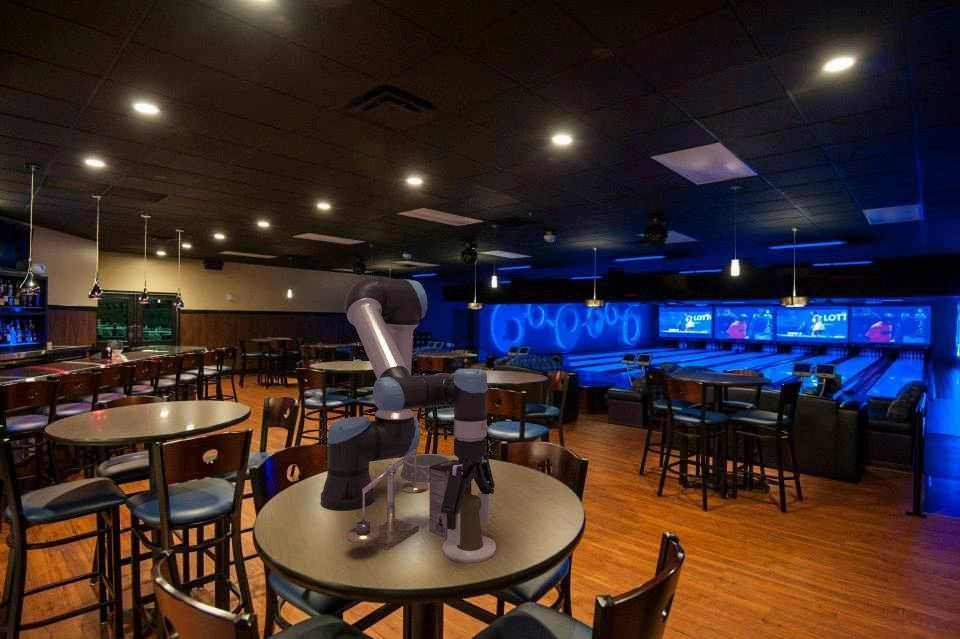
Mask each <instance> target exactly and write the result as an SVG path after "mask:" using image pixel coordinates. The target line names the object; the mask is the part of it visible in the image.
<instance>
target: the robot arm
mask: <svg viewBox="0 0 960 639" xmlns="http://www.w3.org/2000/svg"><path fill="white" fill-rule="evenodd" d="M427 310H428V297H427V293H426V291H425V289H424V287H423V285H422V283H420V282H419V281H417V280H412V279H406V278H387V277H376V276H375V277H374V276H372V277H365V278H363V279H361V280H358V281H357V282H355V284H353V285H352V286H351V288H350V289H349V290H348V292H347V293H346V296H345V299H344V313H345V316H346V318H347V320H348V322H349V323H350V324H351V325H352V326H354V327H355V329H356V332H357V334H358V336H359V339H360V342H361V345H362V346H363V347H364V351H365V353H366V355H367V358H368V360H369V362H370V365H371V368H372V370H373V372H374V374H375V375H374V376H375V377H376V380H375V382H374V385H373V390H372V394H373V402H374V405H375V406H376V408H377V409H378V410H377V411H376V412H375V413H374V420H371V419H370V418H369V417H367V416H362V415H361V416H351V417H345V418H342V419H339V420H336V421H334V422H332V423H331V424H330V425H329V427H328V431H327V440H326V442H327V474H326V475H327V476H326V479H325V482H324V485H323V489H322V491H321V493H320V505H321V506H322V507H323V508H326V509H329V510H337V511H345V510H346V511H347V510H355V509H361V508H363V492H362V489H363V488H364V487H366V486H367V485H368V484H370V483H371V482H372V478H371V475H370V462H377V461H382V460H383V461H385V460H391V459H402V458H403V457H404V456H406V455H407V454H408V453H410V452H411V451H412V450H413V449H417V450H418V447H419V444H420V443H421V442H420V441H421V440H420V439H421V428H420V426H421V425H420V422H419V420H418V418H416V417H415V414H414V412H413V411H412V410H413V409H422V408H423V409H425V408H426V409H427V408H435V407H436V408H437V407H452V408H453V436H454V437H455V438H454V439H453V454H454V456H456V457H457V458H458V459H457V460H458V465H450V471H449V479H448V483H447V487H446V491H445V495H444V499H443V503H442V507H441V512H442V513H446V514H447V528H448V529H447V537H446V540H447V542H448V543H451V544H455V545H459V544H460V513H458V511H459V508H460V505H461V502H462V499H463V496H464V493H465V491H466V488H467V486H468V485H469V484H470V482H471V483H472V481H473V480H474V482H475V484H476V486H477V487H478V490H479V492H478V494H477V496H478V497H480V499H481V502H482V506H481V509H480V510H479V515H480V523H486V524H488V523H490V504H491V502H490V499H491V498H490V494H491V495H493V494H494V493H495V489H494V488H495V480H494V476H493V472H492V469H491V465H490V456H489V453H488V448H487V447H488V442H487V441H488V440H487V438H486V436H487V431H488V428H489V426H488V424H487V422H488V390H489V385H488V374H487V372H486V370H484V369H480V368H478V369H477V368H461V369H460V368H459V369H457V370H455V371H454V374H450V373H447V372H444V373H441V372H439V373H436V374H434V375H433V374H432V375H431V374H430V375H412V364H413V363H412V361H413V360H412V358H413V337H414V331H415V329H416V328H417V327H418V326H419V321H420V320H421V319H423V318H424V317H426V314H427ZM461 478H462V479H461ZM375 500H376V491H375V488H374V487H373V488H372V489H371V490H369V491H368V492H367V493H365V507H367V506H369V505H370V504H372V503H373V502H374V501H375Z"/></svg>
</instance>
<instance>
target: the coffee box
mask: <svg viewBox="0 0 960 639" xmlns="http://www.w3.org/2000/svg"><path fill="white" fill-rule="evenodd" d="M458 460H459V459H451V460H450V461H447V462H443V463H440V464H436V465H433V466H430V467H429V468H430V483H429V507H428V508H429V511H428V512H429V515H428V516H429V521H428V522H429V523H428V524H429V532H432V533H434V534H438V535H440V536H442V537H444V538H447V529H448V528H447V514H446V513H442V512H441V507H442V503H443V499H444V495H445V491H446V487H447V483H448V479H449V471H450V465H458ZM461 479H462V478H461ZM469 494H471V495H473V494H472V481H471V482H470V484H469V485H468V486H467V488H466V491H465V493H464V495H469ZM458 513H460V515H461V510H460V509H459V511H458Z"/></svg>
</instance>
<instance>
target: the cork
mask: <svg viewBox="0 0 960 639" xmlns="http://www.w3.org/2000/svg"><path fill="white" fill-rule="evenodd" d="M471 494H472V493H471ZM471 494H469V495H464V496H463V499H462V502H461V505H460V508H459V509H460V510H461V515H460V544H459V545H457V547H458V548H459V549H461V550H464V551H475V550H479V549H481V548H482V547H483V540H482V535H483V533H482V522H481V521H480V515H479V510H480V509H481V506H482V502H481V499H480V497H478V495H476V494H472V495H471Z"/></svg>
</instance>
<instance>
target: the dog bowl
mask: <svg viewBox="0 0 960 639" xmlns="http://www.w3.org/2000/svg"><path fill="white" fill-rule="evenodd" d="M450 460H452V459H451V458H450V457H449V456H446V455H443V454H436V453H421V454H416V482H424V483H427V484H430V468H429V467H430V466H433V465H436V464H440V463H443V462H447V461H450ZM400 477H402V478H401V479H402V480H404V479H405V480H404V481H407V480H408V481H407V482H410V481H411V482H414V477H415V455H413V456H412V457H411V458H410V459H408V460H407V461H406V462H405V463H403V464H402V469H401V472H400Z"/></svg>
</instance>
